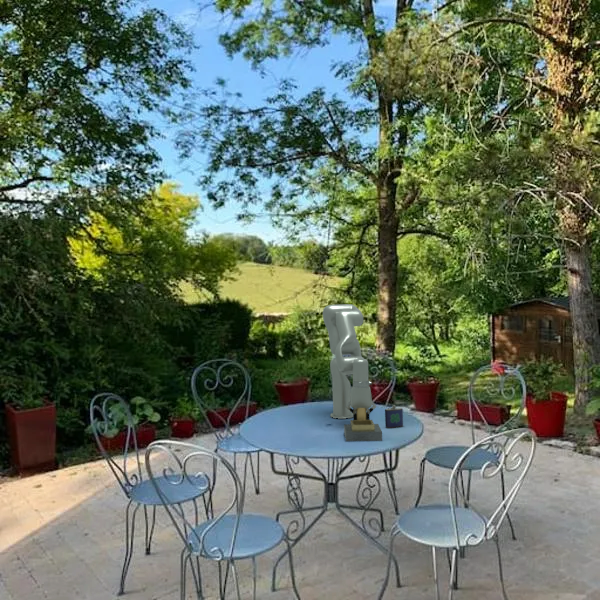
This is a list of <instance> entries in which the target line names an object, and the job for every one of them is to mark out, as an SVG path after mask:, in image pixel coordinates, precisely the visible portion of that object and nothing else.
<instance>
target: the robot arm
mask: <svg viewBox="0 0 600 600" xmlns="http://www.w3.org/2000/svg"><path fill="white" fill-rule="evenodd" d="M322 318H323V323H324V325H325V327H326V329H327V333H328V341H329V348H330V352H331V354H332V355H334V357H335V358H332V359H331V360H330V364H329V366H330V367H329V368H330V373H331V379H332V381H331V382H332V383H331V384H332V406H333V407H332V411H333V412H331V413H330V415H329V416H330V418H332V417H333V418H332V419H336V418H338V420H347V419H346V418H348V419H352V420H357V415H356V410H357V408H366V413H367V414H366V416H367V420H371V418H370V414H371V413H372V412H373V411H374V410H375V409H376V408H377V405H376V404H375V402H374V401H373V399H372V392H371V391H372V390H371V387H370V385H373V384H372V381H370V380H369V362H368V359H366V358H364V357H363V356H362V352H361V351H362V350H361V345H360V342H359V339H358V338H357V333H356V332H357V331H356V329H355V327H361V326H362V325H363V324H364V315H363V313H362V311H361V310H360V309H359V308H358V307H357V306H356V305H354V304H352V303H351V304H349V303H346V304H345V303H343V304H329V305H327V306H325V307H324V308H323V309H322ZM347 355H350V356H347ZM349 375H352V386H351V382H350V380H349V379H348V377H347V376H349Z"/></svg>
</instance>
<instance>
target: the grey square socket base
mask: <svg viewBox="0 0 600 600" xmlns="http://www.w3.org/2000/svg"><path fill="white" fill-rule="evenodd" d="M343 434H344V438H346V439H345V442H372V441H373V442H375V441H376V442H377V441H379V442H380V441H383V430H382V429H381V427H380V425H379V423H374V421H373V419H370V420H353V419H350V424H344V425H343Z"/></svg>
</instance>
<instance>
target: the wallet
mask: <svg viewBox="0 0 600 600" xmlns="http://www.w3.org/2000/svg"><path fill="white" fill-rule="evenodd" d="M403 409H404V408H402V407H397V406H396V405H395V404H394V405H392V407H390V408H389V407H387V408H386V409H384V415H385V416H384V417H385V418H384V421H385V422H384V423H385V429H395V428H396V427H397V428H402V427H404V415H403V414H404V411H403Z"/></svg>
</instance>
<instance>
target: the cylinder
mask: <svg viewBox="0 0 600 600" xmlns="http://www.w3.org/2000/svg"><path fill="white" fill-rule="evenodd" d="M366 414H367V410H366V408H357V410H356V415H357V420H367V416H366Z"/></svg>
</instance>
